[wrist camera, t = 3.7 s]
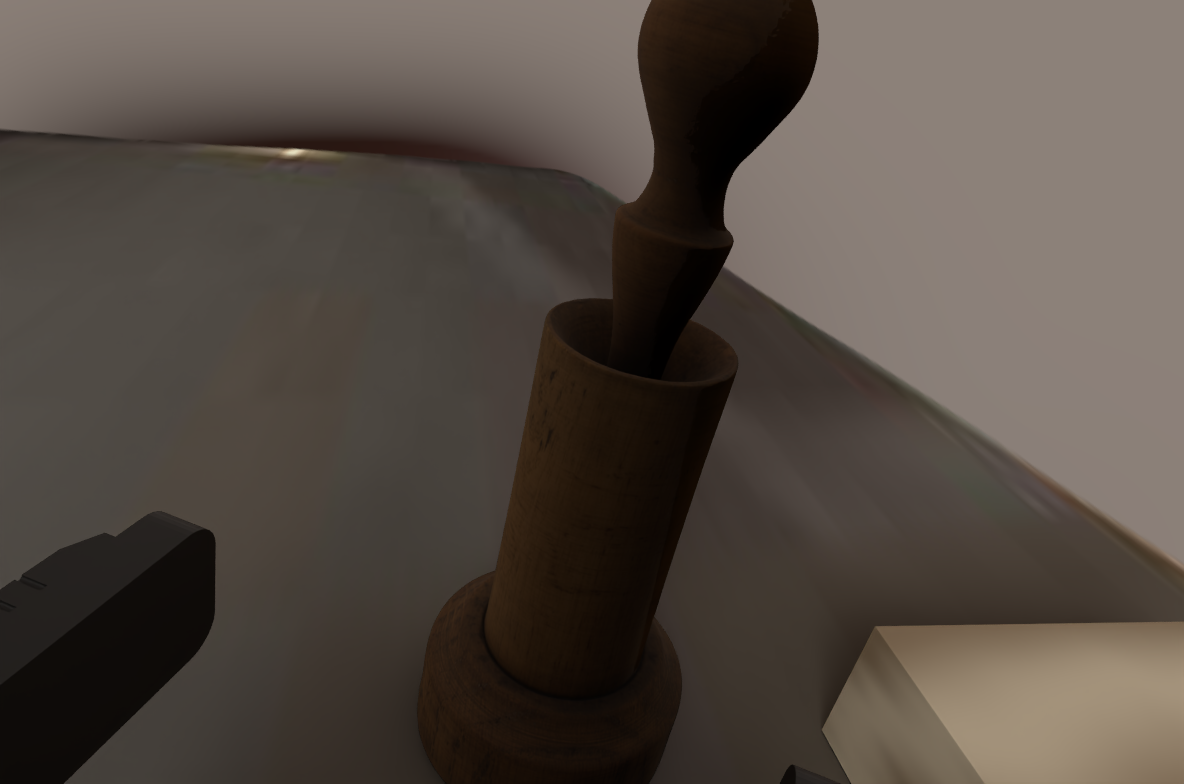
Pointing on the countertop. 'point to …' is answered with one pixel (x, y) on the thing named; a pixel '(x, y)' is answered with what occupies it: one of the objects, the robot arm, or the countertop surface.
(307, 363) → the countertop surface
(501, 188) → the countertop surface
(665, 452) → the mortar and pestle
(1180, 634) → the plinth
